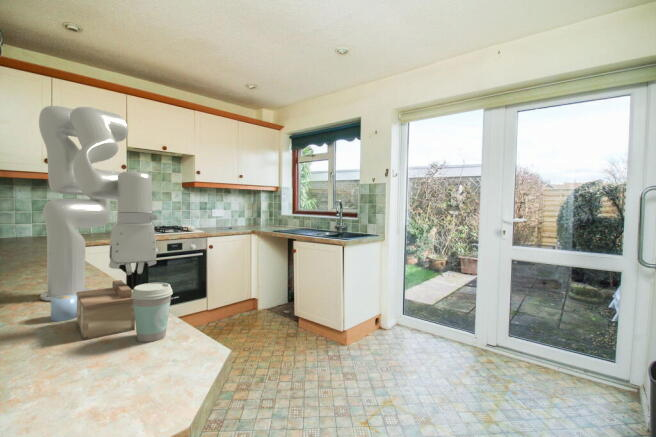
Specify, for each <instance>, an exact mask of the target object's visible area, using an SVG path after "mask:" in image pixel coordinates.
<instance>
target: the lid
mask: <svg viewBox="0 0 656 437" xmlns="http://www.w3.org/2000/svg"><path fill="white" fill-rule="evenodd" d="M132 292H133V290H132V289H131V288H129V287H128V286H127V285H126V282H125V281H123V280H121V279H120V280H118V279H117V280H112V287H106V288H96V289H90V290H88V291H80V292H77V297H78V299H79V301H80V303H81V305H82V307H83V309H91V308H97V307H103V306H110V305H116V304H123V303H129V302H133V298H131V296H132Z"/></svg>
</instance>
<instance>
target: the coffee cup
mask: <svg viewBox="0 0 656 437" xmlns="http://www.w3.org/2000/svg"><path fill="white" fill-rule="evenodd" d="M173 293H174V292H173V289H172V287H171V284H170V283H167V282H148V283H141V284H140V285H138V286H136V287H134V290H132V296H131V298H133V306H134V315H135V330H136V338H137V341H139V342H142V343H150V342H156V341H159V340H162V339H163V338H165V337H166V334H167V328H168V327H167V326H168V321H169V313H170V307H171V306H170V305H171V302H172V300H171V299H172V295H173Z"/></svg>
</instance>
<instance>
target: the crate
mask: <svg viewBox="0 0 656 437" xmlns="http://www.w3.org/2000/svg"><path fill="white" fill-rule="evenodd" d="M76 324H77V327H78V329H79V332H80V335H81V337H82V340H83V341H87V340H93V339H98V338H102V337H107V336H111V335H112V336H113V335H116V334H120V333H121V334H122V333H126V332H131V331H135V330H136V324H135V315H134V306H133V302H129V303H123V304H116V305H110V306H103V307H97V308H91V309H83V307H82V305H81V303H80V301H79V299H78V297H77V318H76Z"/></svg>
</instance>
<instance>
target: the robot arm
mask: <svg viewBox="0 0 656 437" xmlns="http://www.w3.org/2000/svg"><path fill="white" fill-rule="evenodd" d="M38 118H39V119H38V127H39V132H40V135H41V138H42V139H43V140H42V141H43V143H44V146H45V148H46V156H47V158H46V159H47V161H46V162H47V176H48V177H47V178H48V187H49V188H50V190H51V191H52V192H53V193H55V194H58V195H68V196H69V195H71V196H86V197H88V198H89V199H83V198H81V199H80V198H65V197H64V198H54V199H51V200H48V201H47V202H46V203H45V204H44V206H43V211H42V213H43V218H44V224H45V229H46V251H47V252H46V253H47V254H46V263H47V264H46V291H45V292H42V293H41V294H40V296H39V297H40V300H42V301H47V302H51V298H53V297H56V296H61V295H77V292H80V291H88V290H91V288H90V287H86V240H85V237H83V235H82V234H81V233H80V232H79V231H78V230H77V229H81V228H82V229H84V228H100V227H101V228H102V227H104V226H107V225H108V223H109V222H110V219H111V200H117V202H116V203H117V206H116V207H117V212H116V213H117V214H116V223H115V224H112V228H111V232H110V241H109V255H108V256H109V260H110V262H109V264H108V267H109V268H110V269H114V270H121V271H122V272H124V274H126V276H125V277H126V278H125V284H126V285H127V286H128V287H129V288H131V289H132V291H133V290H134V287H136V286H138V285H142V283H141V282H142V281H141V278H142V277H141V275H142V274H143V272H144V271H145V270H146V269H147V268H148V267H151V266H154V265H156V264H157V259H156V258H157V242H156V241H157V240H156V232H155V226H154V224H153V223H152V222H153V221H156V220H157V217H158V216H157V215H156V214H152V177H151V175H150V174H148V173H146V172H140V171H128V170H127V171H125V170H124V171H115V170H107V169H105V170H104V169H100V168H95V167H94V166H93V164H97V163H100V162H105V161H107V160H110V159H111V158H113V157H115V156H116V155H117V154H118V152H119V144H118V143H120V142H122V141H124V140H126V139H127V136H128V134H129V125H128V124H127V121H126V120H125V118H124V117H123V116H121V115H120V114H118V113H117V114H116V113H113V112H110V111H106V110H101V109H99V108H94V107H89V106H78V107H75V108H70V107H64V106H58V105H47V106H45V107H43V108H42V109H41V111H40V113H39V117H38ZM70 137H74V138H77V139H78V141H79V144H80V146H81V148H79V147H78V146H77V144H76V143H75V142H74V140H72V139H71V138H70ZM132 264H135V267H134V270H133V268H132Z"/></svg>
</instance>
